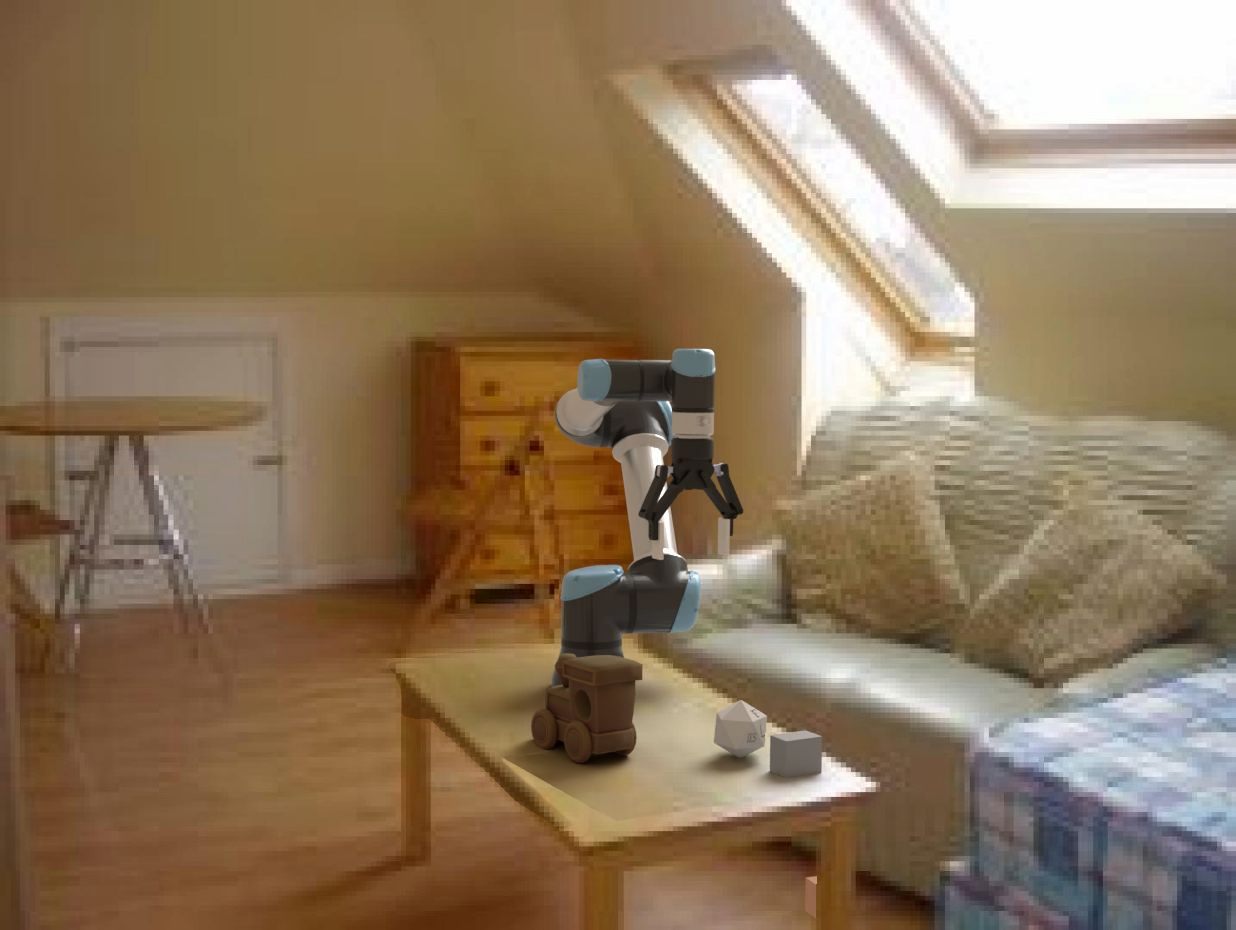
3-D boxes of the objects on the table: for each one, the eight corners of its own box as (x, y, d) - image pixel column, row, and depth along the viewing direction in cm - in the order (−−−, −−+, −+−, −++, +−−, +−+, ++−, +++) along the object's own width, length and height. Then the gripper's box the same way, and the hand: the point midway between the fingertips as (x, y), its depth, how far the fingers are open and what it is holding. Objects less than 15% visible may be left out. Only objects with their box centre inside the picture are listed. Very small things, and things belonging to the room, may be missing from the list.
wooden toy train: (646, 761, 249) (647, 662, 248) (589, 771, 243) (590, 669, 242) (579, 736, 266) (580, 643, 265) (524, 745, 259) (525, 649, 258)
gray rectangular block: (769, 771, 244) (770, 735, 243) (805, 766, 247) (805, 730, 247) (785, 778, 240) (786, 741, 239) (821, 773, 243) (822, 736, 243)
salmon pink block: (840, 906, 269) (840, 873, 269) (852, 914, 265) (853, 881, 264) (805, 910, 267) (805, 877, 266) (817, 919, 262) (817, 885, 262)
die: (752, 768, 245) (753, 707, 245) (704, 760, 250) (704, 701, 250) (775, 757, 253) (776, 698, 252) (728, 749, 257) (728, 691, 257)
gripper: (641, 438, 255) (640, 563, 256) (763, 436, 267) (761, 555, 268) (620, 436, 261) (618, 558, 263) (740, 434, 273) (738, 550, 275)
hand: (691, 557), depth 266 cm, fingers open, 13 cm apart
